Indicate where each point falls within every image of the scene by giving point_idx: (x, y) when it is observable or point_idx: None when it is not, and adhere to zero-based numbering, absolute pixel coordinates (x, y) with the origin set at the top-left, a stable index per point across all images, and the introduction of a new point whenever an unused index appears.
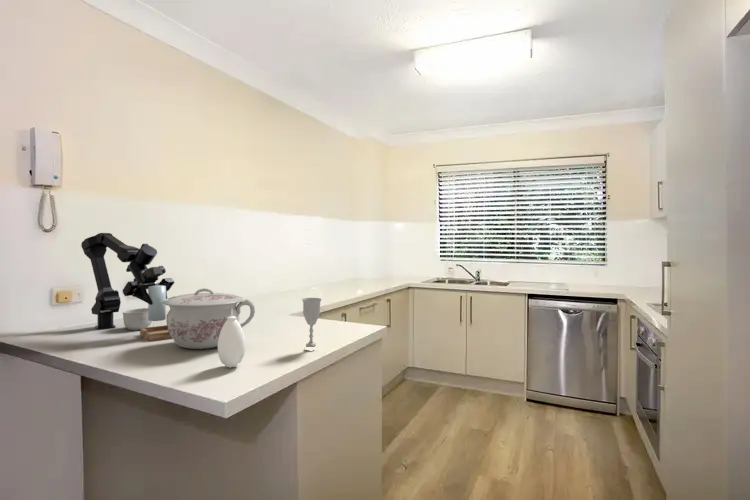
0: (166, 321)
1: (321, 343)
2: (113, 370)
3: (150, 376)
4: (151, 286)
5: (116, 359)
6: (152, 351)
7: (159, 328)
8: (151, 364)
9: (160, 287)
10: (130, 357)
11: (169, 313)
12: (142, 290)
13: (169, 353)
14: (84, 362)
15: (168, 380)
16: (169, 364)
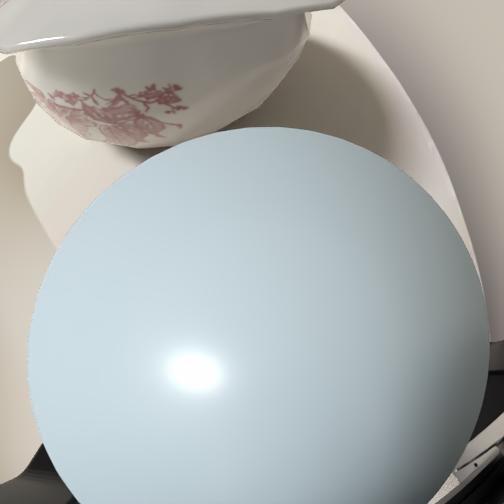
0: (300, 54)
1: None
2: (401, 88)
3: (353, 32)
4: (441, 415)
5: (398, 140)
6: (315, 131)
7: None
8: (342, 61)
9: (304, 136)
10: (372, 128)
11: (307, 12)
12: (496, 343)
13: (285, 85)
14: (446, 176)
15: (335, 12)
16: (314, 40)
